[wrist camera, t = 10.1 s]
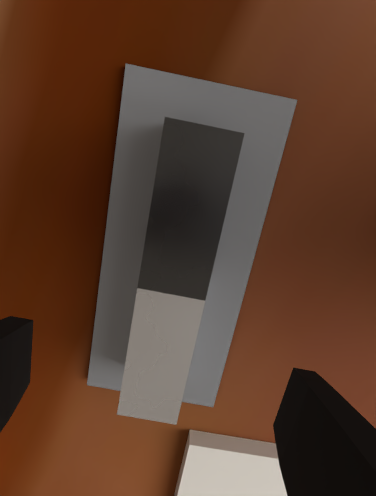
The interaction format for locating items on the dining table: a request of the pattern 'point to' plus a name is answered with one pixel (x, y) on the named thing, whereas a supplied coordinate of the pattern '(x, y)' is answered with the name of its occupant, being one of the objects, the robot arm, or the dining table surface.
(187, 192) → the two-tone grey bar
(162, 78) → the mat
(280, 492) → the tile
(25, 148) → the dining table surface
